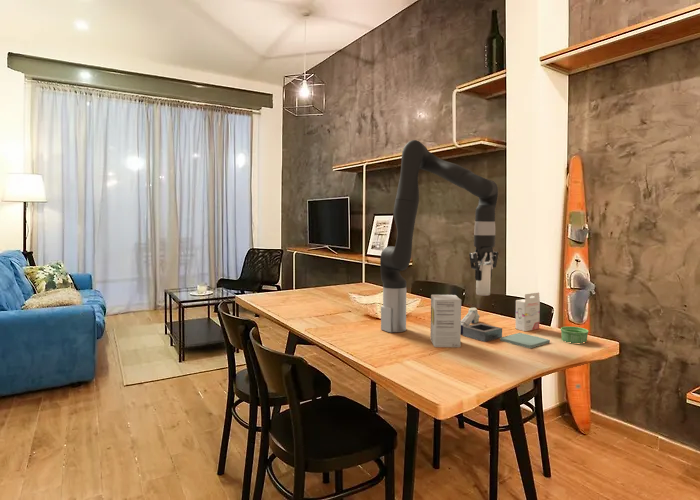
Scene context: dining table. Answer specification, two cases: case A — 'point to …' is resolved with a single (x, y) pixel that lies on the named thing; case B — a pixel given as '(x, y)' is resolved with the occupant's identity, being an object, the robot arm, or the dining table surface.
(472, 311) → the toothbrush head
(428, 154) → the robot arm
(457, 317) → the supplement box
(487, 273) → the end plug
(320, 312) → the dining table surface
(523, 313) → the ink cartridge box
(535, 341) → the mat
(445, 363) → the dining table surface
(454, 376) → the dining table surface
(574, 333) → the ramekin
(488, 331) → the socket block
